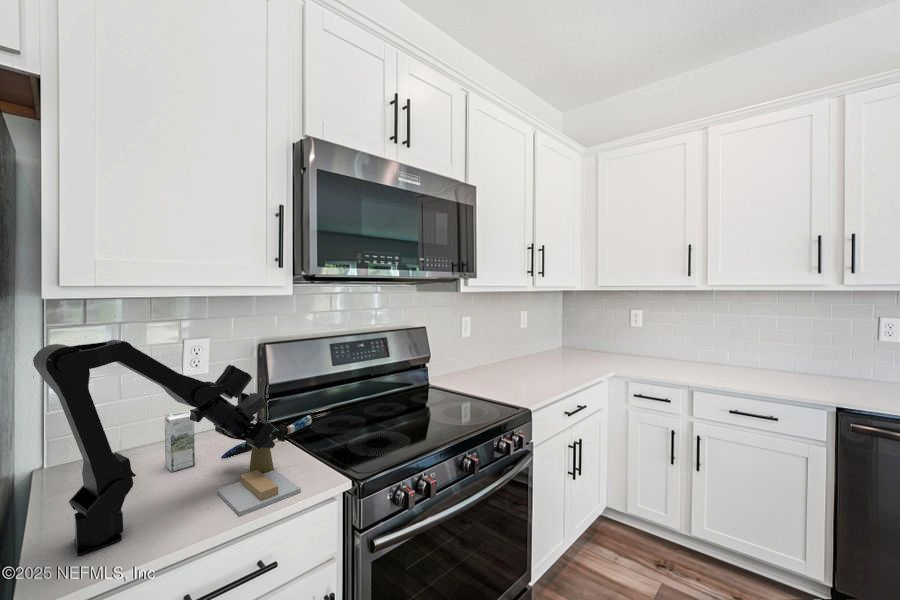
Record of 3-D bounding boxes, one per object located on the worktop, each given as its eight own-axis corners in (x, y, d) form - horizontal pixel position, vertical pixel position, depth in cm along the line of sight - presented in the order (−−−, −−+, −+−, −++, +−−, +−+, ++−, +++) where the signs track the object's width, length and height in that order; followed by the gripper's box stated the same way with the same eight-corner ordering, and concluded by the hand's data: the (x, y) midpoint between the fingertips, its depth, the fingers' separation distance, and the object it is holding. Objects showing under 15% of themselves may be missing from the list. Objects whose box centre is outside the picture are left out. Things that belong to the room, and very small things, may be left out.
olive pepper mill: (264, 477, 106) (263, 435, 105) (243, 475, 107) (242, 434, 106) (278, 467, 111) (277, 427, 111) (258, 465, 113) (257, 426, 112)
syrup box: (189, 459, 116) (188, 409, 115) (195, 466, 112) (194, 414, 111) (165, 466, 112) (163, 414, 111) (171, 473, 108) (169, 419, 107)
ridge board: (239, 516, 88) (238, 503, 88) (217, 493, 98) (216, 481, 97) (300, 492, 98) (300, 480, 98) (275, 473, 108) (275, 462, 108)
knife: (313, 424, 141) (311, 412, 140) (318, 426, 139) (316, 414, 138) (218, 464, 118) (216, 449, 117) (222, 467, 116) (220, 452, 115)
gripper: (266, 391, 100) (305, 423, 109) (225, 381, 110) (264, 410, 119) (235, 433, 93) (279, 462, 103) (195, 418, 104) (238, 446, 113)
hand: (265, 443), depth 110 cm, fingers open, 7 cm apart
